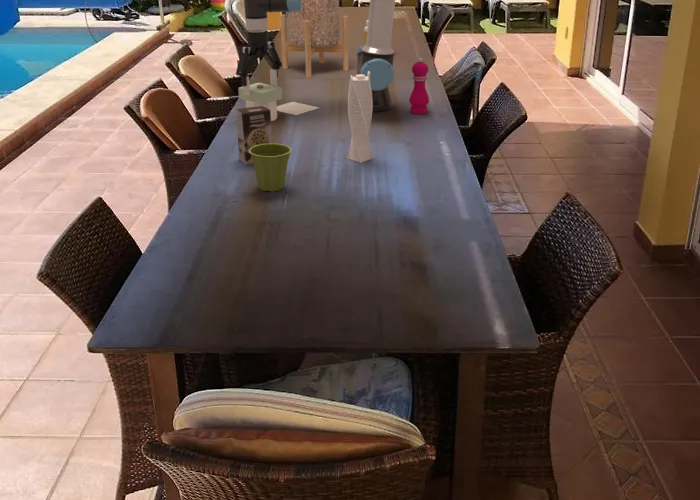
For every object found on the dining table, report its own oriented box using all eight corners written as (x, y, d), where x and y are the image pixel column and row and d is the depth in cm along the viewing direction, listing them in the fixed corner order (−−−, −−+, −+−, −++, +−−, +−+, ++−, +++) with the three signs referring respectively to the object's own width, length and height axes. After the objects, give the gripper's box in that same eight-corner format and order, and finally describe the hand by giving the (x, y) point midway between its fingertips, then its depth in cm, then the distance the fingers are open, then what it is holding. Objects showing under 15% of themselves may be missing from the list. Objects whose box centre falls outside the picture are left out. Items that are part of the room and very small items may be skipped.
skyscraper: (379, 159, 245) (380, 69, 233) (362, 166, 240) (362, 74, 228) (359, 153, 251) (359, 65, 239) (342, 160, 245) (341, 70, 233)
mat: (319, 108, 298) (319, 107, 298) (296, 116, 289) (296, 115, 289) (292, 102, 306) (292, 101, 306) (269, 109, 297) (268, 108, 297)
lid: (282, 98, 283) (282, 85, 281) (262, 104, 276) (261, 90, 274) (259, 93, 290) (258, 80, 288) (239, 98, 283) (238, 85, 281)
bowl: (283, 118, 287) (282, 98, 283) (261, 125, 279) (260, 104, 276) (262, 113, 293) (261, 93, 290) (240, 119, 285) (239, 99, 282)
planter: (350, 70, 356) (348, -4, 342) (307, 78, 345) (304, 1, 330) (323, 62, 373) (320, -10, 359) (281, 69, 361) (277, -5, 347)
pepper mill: (427, 115, 289) (429, 60, 281) (407, 114, 291) (409, 59, 282) (429, 109, 296) (431, 56, 287) (410, 108, 297) (411, 55, 288)
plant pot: (276, 198, 216) (274, 159, 211) (242, 190, 222) (239, 151, 217) (301, 185, 225) (299, 147, 220) (268, 177, 231) (266, 140, 226)
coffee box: (245, 165, 241) (242, 113, 234) (238, 159, 246) (234, 108, 239) (273, 160, 245) (270, 109, 238) (265, 154, 250) (262, 104, 243)
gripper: (274, 24, 283) (277, 82, 292) (222, 34, 266) (227, 96, 275) (289, 26, 279) (292, 85, 288) (237, 36, 262) (242, 99, 271)
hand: (260, 91), depth 282 cm, fingers open, 13 cm apart
